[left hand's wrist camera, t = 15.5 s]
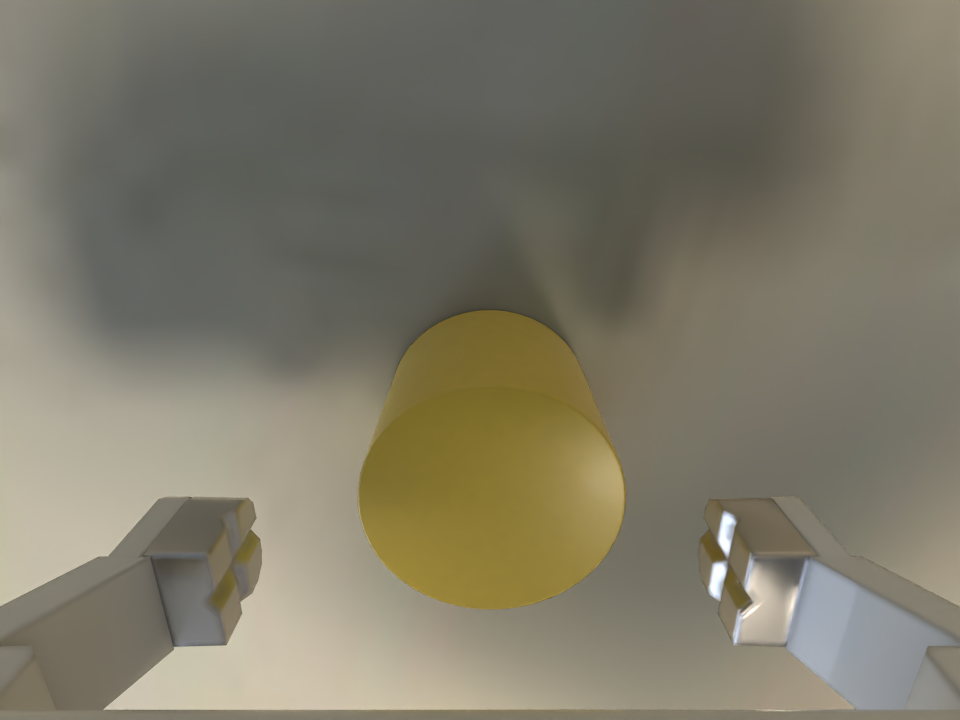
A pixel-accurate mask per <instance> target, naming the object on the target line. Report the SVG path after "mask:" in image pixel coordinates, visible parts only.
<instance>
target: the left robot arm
mask: <svg viewBox="0 0 960 720" xmlns="http://www.w3.org/2000/svg"><path fill="white" fill-rule="evenodd" d="M255 520H256V514H255V509H254V504H253V502H252V501H251V500H250V499H249V498H222V497H193V498H192V497H164V498H161V499H159V500H158V501H157V502H156V503H155V504H154V505H153V506H152V507H151V508H150V510H149V511H148V512H147V513H146V514H145V515H144V516H143V517H142V519H141V520H140V521H139V522H138V523H137V524H136V525H135V527H134V528H133V529H132V530H131V531H130V532H129V533H128V534H127V536H126V537H125V538H124V539H123V540H122V541H121V542H120V544H119V545H118V546H117V547H116V548H115V549H114V550H113V551H112V553H111V554H110V555H109V556H108V557H97V558H95V559H93V560H91V561H89V562H87V563H85V564H83V565H81V566H79V567H77V568H75V569H73V570H71V571H69V572H67V573H65V574H63V575H61V576H60V577H58V578H56V579H54V580H52V581H50V582H48V583H46V584H44V585H42V586H40V587H38V588H36V589H34V590H32V591H30V592H28V593H26V594H24V595H22V596H20V597H18V598H16V599H14V600H12V601H10V602H8V603H6V604H4V605H2V606H0V720H960V607H959V606H957V605H955V604H954V603H952V602H950V601H948V600H946V599H944V598H942V597H940V596H938V595H936V594H934V593H932V592H930V591H928V590H926V589H924V588H922V587H920V586H918V585H916V584H914V583H912V582H910V581H908V580H906V579H904V578H902V577H900V576H898V575H896V574H894V573H893V572H891V571H889V570H887V569H885V568H883V567H881V566H879V565H877V564H875V563H873V562H871V561H869V560H867V559H865V558H863V557H852V556H851V555H850V554H849V553H848V552H847V550H846V549H845V548H844V547H843V546H842V545H841V544H840V542H839V541H838V540H837V539H836V538H835V537H834V536H833V535H832V533H831V532H830V531H829V530H828V529H827V528H826V527H825V525H824V524H823V523H822V522H821V521H820V520H819V519H818V517H817V516H816V515H815V514H814V513H813V512H812V511H811V510H810V508H809V507H808V506H807V505H806V504H805V503H804V502H803V500H801V499H799V498H797V497H795V496H792V497H766V498H729V499H709V501H708V503H707V505H706V508H705V513H704V520H705V522H706V523H707V525H708V527H709V530H708V531H707V532H706V533H705V534H704V535H703V536H702V537H701V538H700V543H699V550H698V561H699V571H700V575H701V578H702V582H703V584H704V586H705V588H706V590H707V592H708V594H710V595H711V596H712V597H714V598H715V599H717V600H718V601H719V602H720V604H719V610H718V615H719V617H720V619H721V621H722V623H723V625H724V627H725V629H726V631H727V633H728V635H729V637H730V639H731V641H732V643H733V645H746V646H781V647H786V650H788V651H789V652H790V653H791V654H792V655H794V656H795V657H796V658H797V659H798V660H799V661H801V662H802V663H803V664H804V665H805V666H807V667H808V668H809V669H810V670H811V671H812V672H814V673H815V674H816V675H817V676H818V677H819V678H821V679H822V680H823V681H824V682H825V683H827V684H828V685H829V686H830V687H831V688H832V689H834V690H835V691H836V692H837V693H838V694H840V695H841V696H842V697H843V698H844V699H845V700H847V701H848V702H849V703H850V704H851V705H852V706H854V707H855V708H856V709H857V710H103V709H104V708H105V707H106V706H108V705H109V704H110V703H111V702H112V701H114V700H115V699H116V698H117V697H118V696H119V695H121V694H122V693H123V692H124V691H125V690H127V689H128V688H129V687H130V686H131V685H132V684H134V683H135V682H136V681H137V680H138V679H140V678H141V677H142V676H143V675H144V674H145V673H147V672H148V671H149V670H150V669H151V668H153V667H154V666H155V665H156V664H157V663H158V662H160V661H161V660H162V659H163V658H164V657H166V656H167V655H168V654H169V653H170V652H171V651H173V650H174V647H179V646H213V645H227V643H228V641H229V639H230V637H231V635H232V633H233V631H234V629H235V627H236V625H237V623H238V621H239V619H240V617H241V615H242V610H241V604H240V602H241V601H242V600H243V599H245V598H246V597H248V596H249V595H250V594H252V592H253V590H254V588H255V586H256V584H257V582H258V578H259V574H260V569H261V565H262V549H261V542H260V538H259V537H258V536H257V535H256V534H255V533H254V532H253V531H252V530H251V527H252V525H253V523H254V522H255Z"/></svg>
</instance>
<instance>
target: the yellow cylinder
mask: <svg viewBox="0 0 960 720" xmlns="http://www.w3.org/2000/svg"><path fill="white" fill-rule="evenodd" d="M625 506H626V486H625V478H624V474H623V470H622V466H621V463H620V460H619V458H618V456H617V453H616V451H615V448H614V446H613V444H612V441H611V439H610V436H609V434H608V432H607V429H606V427H605V424H604V422H603V419H602V417H601V415H600V412H599V410H598V407H597V405H596V403H595V400H594V398H593V395H592V393H591V391H590V388H589V386H588V383H587V381H586V378H585V376H584V374H583V371H582V369H581V367H580V364H579V362H578V360H577V358H576V357H575V355H574V353H573V352H572V350H571V349H570V348H569V347H568V345H567V344H566V343H565V342H564V341H563V340H562V339H561V338H560V337H559V336H558V335H557V334H556V333H555V332H553V331H552V330H551V329H549V328H548V327H546V326H545V325H543V324H541V323H539V322H537V321H535V320H533V319H531V318H529V317H526V316H523V315H520V314H516V313H512V312H507V311H498V310H480V311H473V312H467V313H463V314H459V315H456V316H453V317H450V318H448V319H446V320H444V321H441V322H439V323H438V324H436V325H434V326H433V327H431V328H430V329H428V330H427V331H426V332H424V333H423V334H422V335H421V336H420V337H418V338H417V340H416V341H415V342H414V343H413V344H412V345H411V346H410V347H409V349H408V350H407V352H406V353H405V354H404V356H403V358H402V359H401V361H400V363H399V365H398V367H397V370H396V373H395V376H394V379H393V382H392V384H391V387H390V390H389V393H388V396H387V399H386V401H385V404H384V407H383V410H382V413H381V416H380V418H379V421H378V424H377V427H376V430H375V433H374V435H373V438H372V441H371V444H370V447H369V450H368V452H367V455H366V458H365V461H364V464H363V467H362V470H361V473H360V478H359V484H358V508H359V515H360V520H361V523H362V526H363V530H364V533H365V535H366V537H367V539H368V541H369V543H370V545H371V547H372V548H373V550H374V551H375V553H376V554H377V556H378V557H379V559H380V560H381V561H382V562H383V563H384V564H385V566H386V567H387V568H388V569H389V570H390V571H391V572H392V573H393V574H395V575H396V576H397V577H398V578H399V579H400V580H402V581H403V582H405V583H406V584H407V585H409V586H410V587H412V588H413V589H415V590H417V591H419V592H421V593H423V594H425V595H427V596H429V597H432V598H434V599H437V600H439V601H442V602H445V603H449V604H452V605H456V606H462V607H467V608H475V609H507V608H515V607H521V606H526V605H530V604H534V603H537V602H540V601H543V600H546V599H549V598H551V597H553V596H555V595H558V594H560V593H562V592H564V591H566V590H567V589H569V588H571V587H572V586H574V585H575V584H577V583H578V582H580V581H581V580H582V579H583V578H585V577H586V576H587V575H588V574H590V573H591V572H592V571H593V570H594V569H595V568H596V567H597V566H598V565H599V564H600V562H601V561H602V560H603V558H604V557H605V556H606V554H607V553H608V552H609V550H610V549H611V547H612V545H613V543H614V542H615V540H616V538H617V535H618V533H619V530H620V528H621V525H622V522H623V517H624V512H625Z"/></svg>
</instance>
